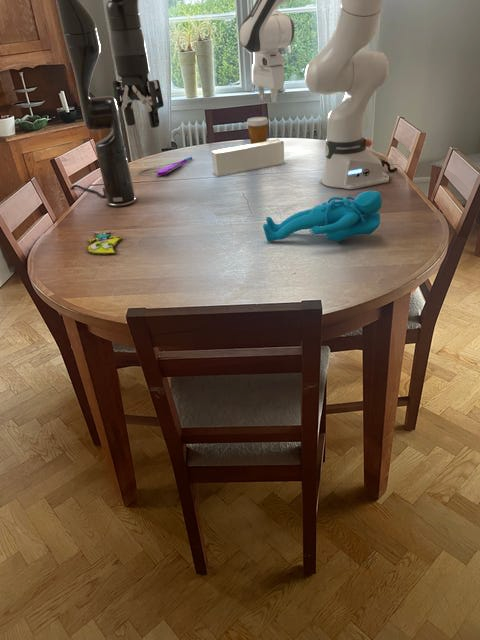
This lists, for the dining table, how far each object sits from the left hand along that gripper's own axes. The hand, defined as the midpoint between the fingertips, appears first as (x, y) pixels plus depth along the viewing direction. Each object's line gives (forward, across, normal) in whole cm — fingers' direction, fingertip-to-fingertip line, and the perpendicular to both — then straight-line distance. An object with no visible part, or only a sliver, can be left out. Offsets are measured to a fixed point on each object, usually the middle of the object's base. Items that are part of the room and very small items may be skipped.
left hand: (143, 126), depth 120 cm
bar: (+30, -16, +65) cm, 73 cm away
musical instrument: (+30, -49, +52) cm, 78 cm away
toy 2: (+30, +41, +18) cm, 54 cm away
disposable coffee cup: (+30, -30, +93) cm, 103 cm away
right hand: (+6, -11, +73) cm, 74 cm away
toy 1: (+30, -11, -12) cm, 34 cm away
